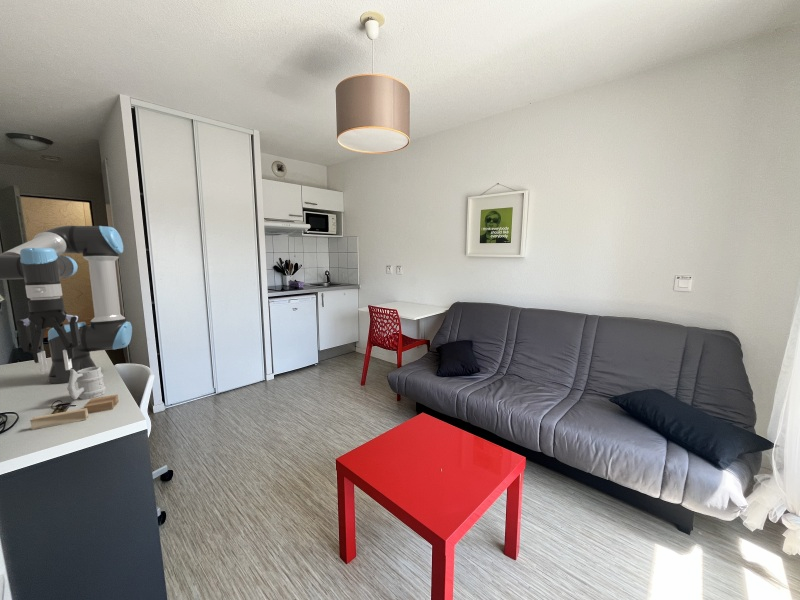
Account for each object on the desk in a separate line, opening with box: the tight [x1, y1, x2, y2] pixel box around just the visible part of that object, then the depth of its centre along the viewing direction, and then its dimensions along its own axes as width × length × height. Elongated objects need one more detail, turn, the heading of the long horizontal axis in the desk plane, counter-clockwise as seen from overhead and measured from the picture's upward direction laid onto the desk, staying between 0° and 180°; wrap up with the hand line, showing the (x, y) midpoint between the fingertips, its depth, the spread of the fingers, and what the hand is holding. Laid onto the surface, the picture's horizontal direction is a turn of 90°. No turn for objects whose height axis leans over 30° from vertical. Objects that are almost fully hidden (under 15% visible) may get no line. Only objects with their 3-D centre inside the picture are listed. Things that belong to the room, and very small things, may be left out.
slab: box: [83, 394, 119, 415], centre depth 110 cm, size 7×7×3 cm
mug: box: [67, 366, 107, 400], centre depth 118 cm, size 8×12×12 cm, turn 0°
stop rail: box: [29, 407, 89, 430], centre depth 99 cm, size 2×12×3 cm, turn 118°
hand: (56, 370), depth 104 cm, fingers open, 5 cm apart
